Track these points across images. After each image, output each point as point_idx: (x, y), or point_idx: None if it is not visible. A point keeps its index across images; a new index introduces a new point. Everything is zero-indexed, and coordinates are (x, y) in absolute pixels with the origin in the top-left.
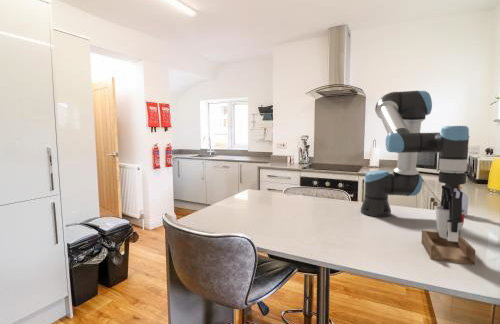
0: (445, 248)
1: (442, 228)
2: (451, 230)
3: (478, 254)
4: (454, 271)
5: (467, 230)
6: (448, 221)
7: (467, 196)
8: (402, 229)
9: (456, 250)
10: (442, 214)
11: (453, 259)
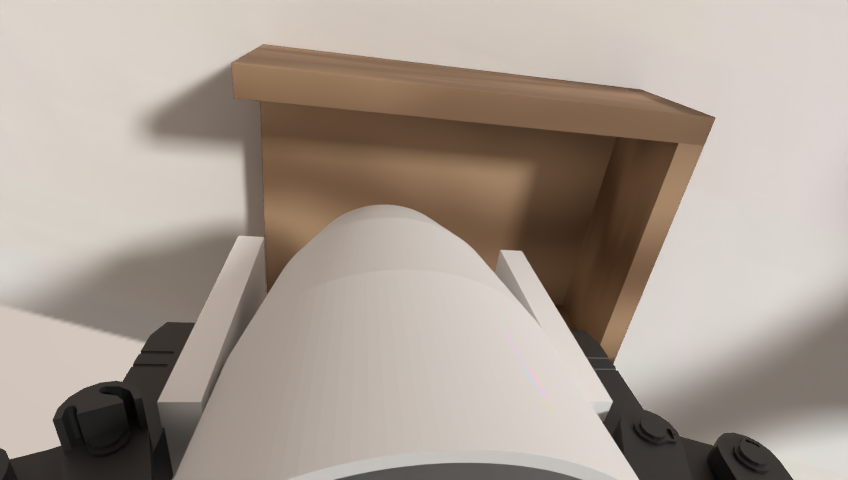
0: (477, 219)
1: (296, 262)
2: (185, 333)
3: None
4: (83, 147)
5: (830, 424)
6: (77, 400)
7: None
8: None
9: None
10: (220, 428)
11: (264, 204)
